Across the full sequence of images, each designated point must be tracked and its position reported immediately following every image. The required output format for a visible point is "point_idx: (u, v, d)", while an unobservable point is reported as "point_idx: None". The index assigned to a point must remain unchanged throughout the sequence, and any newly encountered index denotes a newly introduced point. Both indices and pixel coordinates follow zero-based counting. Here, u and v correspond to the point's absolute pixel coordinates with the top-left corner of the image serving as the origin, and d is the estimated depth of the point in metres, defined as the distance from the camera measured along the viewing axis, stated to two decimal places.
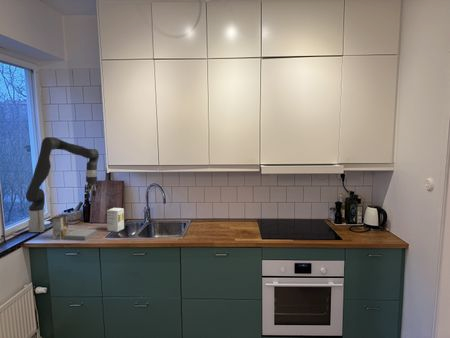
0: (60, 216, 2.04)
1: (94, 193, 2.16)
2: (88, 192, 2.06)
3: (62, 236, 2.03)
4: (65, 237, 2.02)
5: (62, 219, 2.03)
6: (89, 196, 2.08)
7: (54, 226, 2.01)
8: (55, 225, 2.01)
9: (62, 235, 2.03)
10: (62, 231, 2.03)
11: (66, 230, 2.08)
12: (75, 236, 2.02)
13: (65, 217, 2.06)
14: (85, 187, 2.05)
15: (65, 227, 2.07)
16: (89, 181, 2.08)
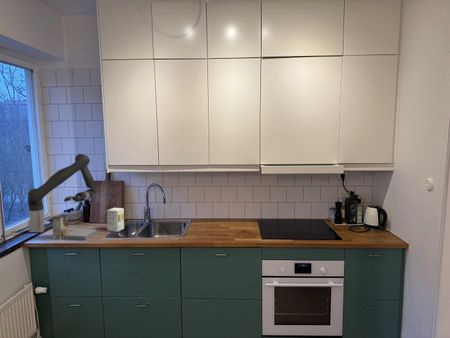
0: (60, 216, 2.04)
1: (66, 200, 2.19)
2: (81, 201, 2.20)
3: (62, 236, 2.03)
4: (65, 237, 2.02)
5: (62, 219, 2.03)
6: (76, 201, 2.17)
7: (54, 226, 2.01)
8: (55, 225, 2.01)
9: (62, 235, 2.03)
10: (62, 231, 2.03)
11: (66, 230, 2.08)
12: (75, 236, 2.02)
13: (65, 217, 2.06)
14: (84, 197, 2.24)
15: (65, 227, 2.07)
16: None
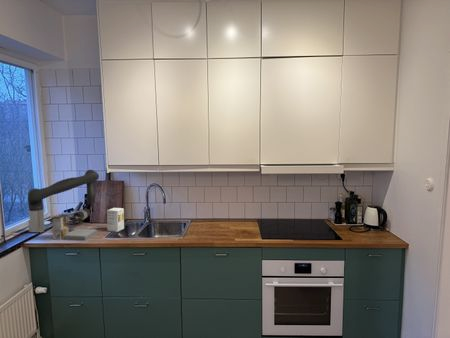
0: (60, 216, 2.04)
1: None
2: (79, 221, 2.18)
3: (62, 236, 2.03)
4: (65, 237, 2.02)
5: (62, 219, 2.03)
6: (74, 222, 2.15)
7: (54, 226, 2.01)
8: (55, 225, 2.01)
9: (62, 235, 2.03)
10: (62, 231, 2.03)
11: (66, 230, 2.08)
12: (75, 236, 2.02)
13: (65, 217, 2.06)
14: (82, 217, 2.22)
15: (65, 227, 2.07)
16: None
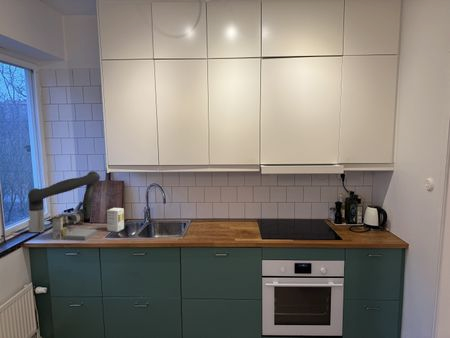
0: (60, 216, 2.04)
1: None
2: (69, 225, 2.08)
3: (62, 236, 2.03)
4: (65, 237, 2.02)
5: (62, 219, 2.03)
6: (64, 226, 2.05)
7: (54, 226, 2.01)
8: (55, 225, 2.01)
9: (62, 235, 2.03)
10: (62, 231, 2.03)
11: (66, 230, 2.08)
12: (75, 236, 2.02)
13: (65, 217, 2.06)
14: (74, 221, 2.11)
15: (65, 227, 2.07)
16: (74, 221, 2.16)
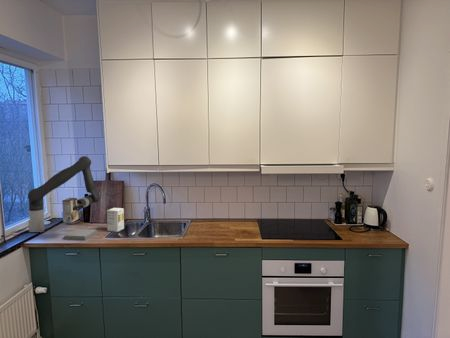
0: (70, 199, 2.04)
1: None
2: (79, 208, 2.08)
3: (72, 219, 2.04)
4: (65, 237, 2.02)
5: (72, 202, 2.03)
6: (74, 209, 2.05)
7: (64, 209, 2.02)
8: (65, 208, 2.02)
9: (72, 218, 2.04)
10: (72, 214, 2.04)
11: (76, 213, 2.09)
12: (75, 236, 2.02)
13: (75, 200, 2.07)
14: (83, 205, 2.12)
15: (75, 210, 2.07)
16: None
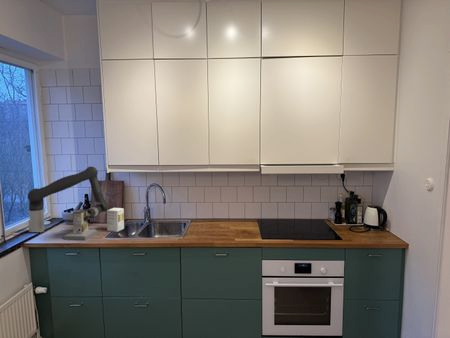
0: (81, 211, 2.07)
1: None
2: (90, 218, 2.11)
3: (82, 231, 2.06)
4: (65, 237, 2.02)
5: (83, 214, 2.06)
6: (86, 219, 2.07)
7: (75, 221, 2.04)
8: (75, 219, 2.04)
9: (82, 230, 2.06)
10: (82, 226, 2.06)
11: (86, 225, 2.11)
12: (75, 236, 2.02)
13: (85, 212, 2.09)
14: (94, 215, 2.14)
15: (85, 222, 2.10)
16: None
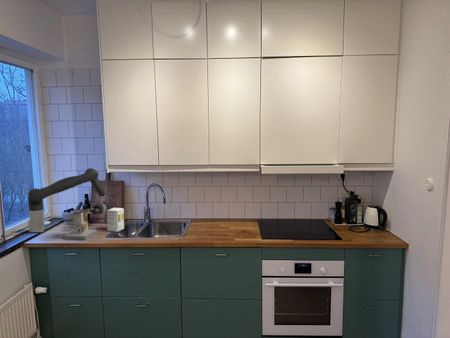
0: (80, 211, 2.07)
1: None
2: (99, 213, 2.23)
3: (82, 231, 2.06)
4: (65, 237, 2.02)
5: (82, 214, 2.05)
6: (95, 214, 2.20)
7: (75, 221, 2.04)
8: (75, 220, 2.04)
9: (82, 230, 2.06)
10: (82, 226, 2.06)
11: (86, 225, 2.11)
12: (75, 236, 2.02)
13: (85, 212, 2.09)
14: (102, 210, 2.27)
15: (85, 222, 2.10)
16: None
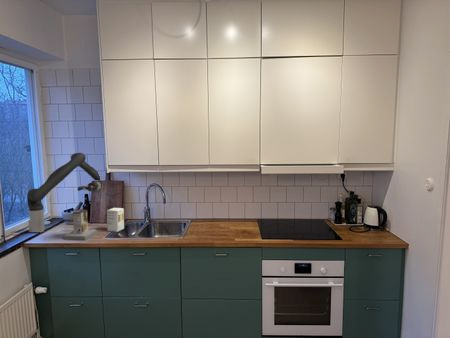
0: (80, 211, 2.07)
1: (80, 189, 2.25)
2: (94, 190, 2.27)
3: (82, 231, 2.06)
4: (65, 237, 2.02)
5: (82, 214, 2.05)
6: (89, 190, 2.24)
7: (75, 221, 2.04)
8: (75, 220, 2.04)
9: (82, 230, 2.06)
10: (82, 226, 2.06)
11: (86, 225, 2.11)
12: (75, 236, 2.02)
13: (85, 212, 2.09)
14: (97, 187, 2.31)
15: (85, 222, 2.10)
16: None
